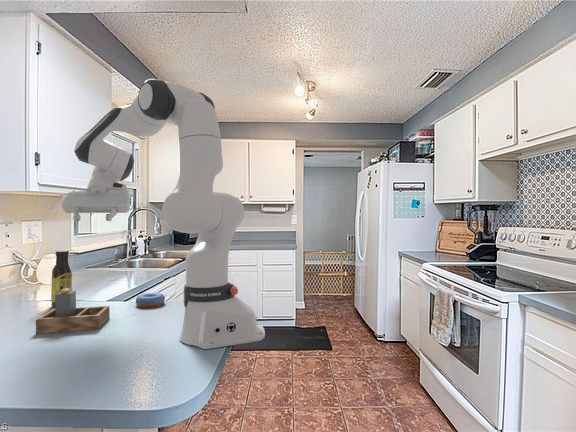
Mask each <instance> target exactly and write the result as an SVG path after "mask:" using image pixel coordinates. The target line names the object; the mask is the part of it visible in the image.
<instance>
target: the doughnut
mask: <svg viewBox="0 0 576 432" xmlns="http://www.w3.org/2000/svg"><path fill="white" fill-rule="evenodd" d="M165 299H166V297H165V295H164V294H163V293H160V292H146V293H142V294H140V295H138V296H136V298H135V305H136V306H137V307H138V308H142V309H143V308H144V309H148V308H149V309H150V308H156V307H160V306H163V304H164V303H165V302H166V301H165Z"/></svg>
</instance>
